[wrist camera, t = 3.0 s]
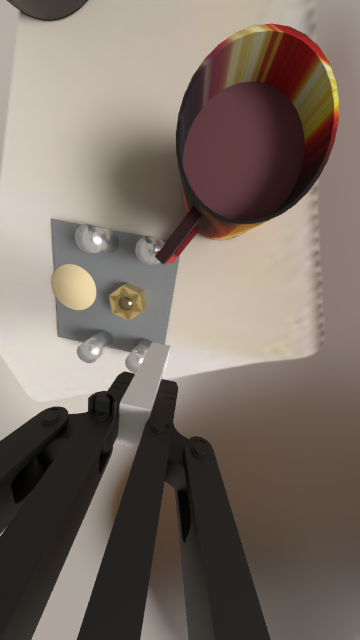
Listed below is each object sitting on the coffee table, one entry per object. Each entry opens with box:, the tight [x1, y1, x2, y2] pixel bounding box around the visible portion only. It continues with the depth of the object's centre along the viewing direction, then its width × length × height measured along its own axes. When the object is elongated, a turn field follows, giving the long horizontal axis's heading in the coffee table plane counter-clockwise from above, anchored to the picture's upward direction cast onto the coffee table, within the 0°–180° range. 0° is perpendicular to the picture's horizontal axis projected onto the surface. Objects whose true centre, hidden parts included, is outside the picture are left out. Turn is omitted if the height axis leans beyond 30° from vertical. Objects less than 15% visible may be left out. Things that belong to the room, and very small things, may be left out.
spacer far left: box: [77, 330, 113, 363], centre depth 29 cm, size 3×3×5 cm
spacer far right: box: [125, 339, 152, 373], centre depth 28 cm, size 3×3×5 cm
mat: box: [51, 219, 180, 352], centre depth 28 cm, size 18×18×1 cm
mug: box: [155, 24, 339, 264], centre depth 18 cm, size 10×14×12 cm
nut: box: [109, 283, 147, 321], centre depth 27 cm, size 5×4×2 cm
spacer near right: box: [135, 236, 165, 265], centre depth 23 cm, size 3×3×5 cm
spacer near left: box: [75, 224, 119, 253], centre depth 23 cm, size 3×3×5 cm
